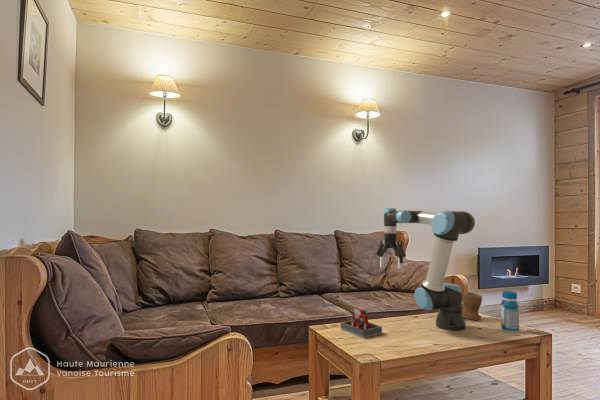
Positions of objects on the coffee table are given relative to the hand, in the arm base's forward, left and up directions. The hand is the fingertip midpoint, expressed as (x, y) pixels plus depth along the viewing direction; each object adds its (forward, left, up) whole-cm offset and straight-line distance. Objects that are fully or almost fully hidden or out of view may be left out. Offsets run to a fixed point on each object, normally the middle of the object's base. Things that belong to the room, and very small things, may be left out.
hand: (390, 267), depth 231 cm
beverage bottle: (-57, -29, -28) cm, 70 cm away
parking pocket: (-16, +39, -28) cm, 51 cm away
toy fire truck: (-16, +40, -27) cm, 50 cm away
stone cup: (-31, -33, -28) cm, 53 cm away
